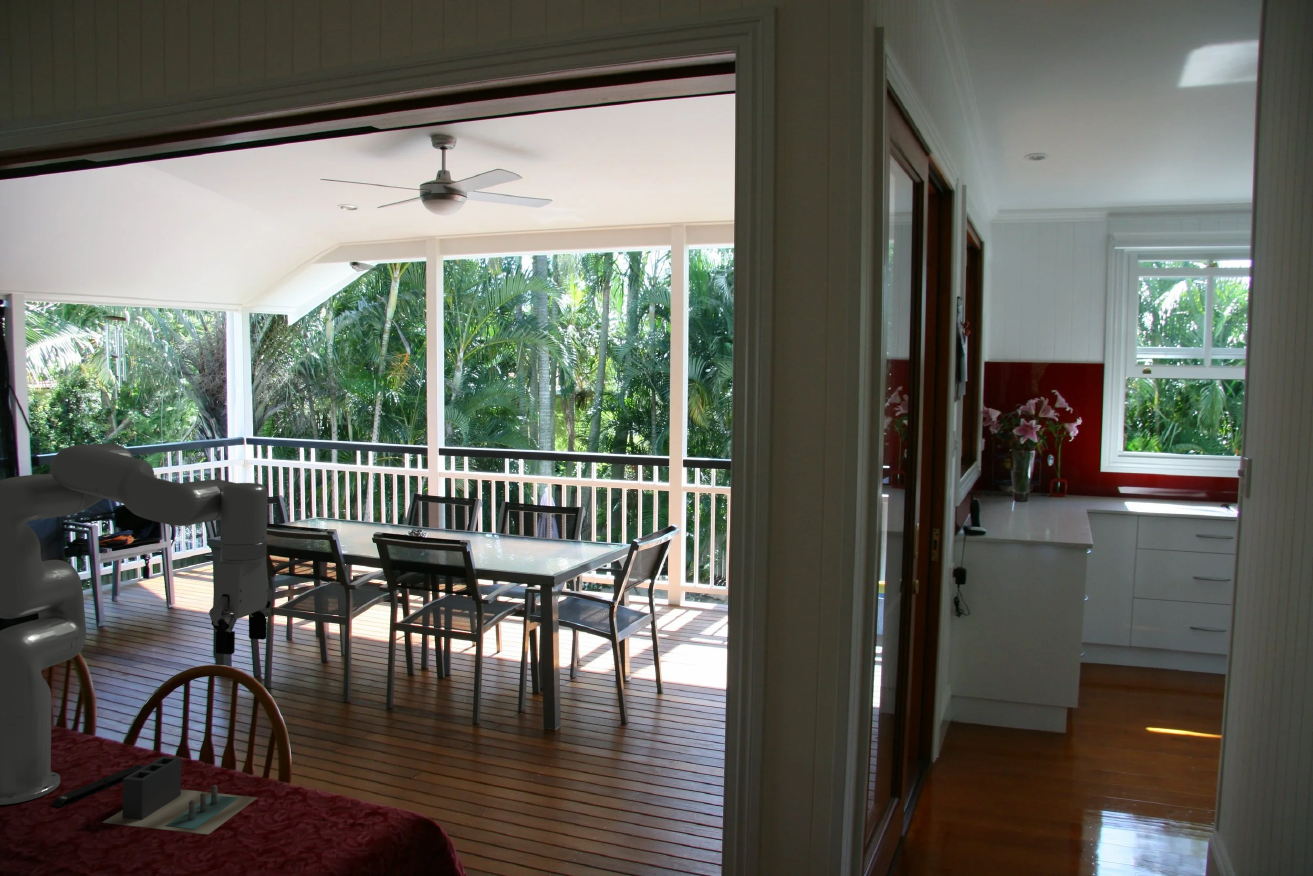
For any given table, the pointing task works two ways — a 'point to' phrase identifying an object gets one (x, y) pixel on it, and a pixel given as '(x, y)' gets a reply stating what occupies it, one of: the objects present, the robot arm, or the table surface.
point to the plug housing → (151, 787)
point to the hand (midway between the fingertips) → (241, 646)
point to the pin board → (190, 812)
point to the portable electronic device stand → (94, 787)
